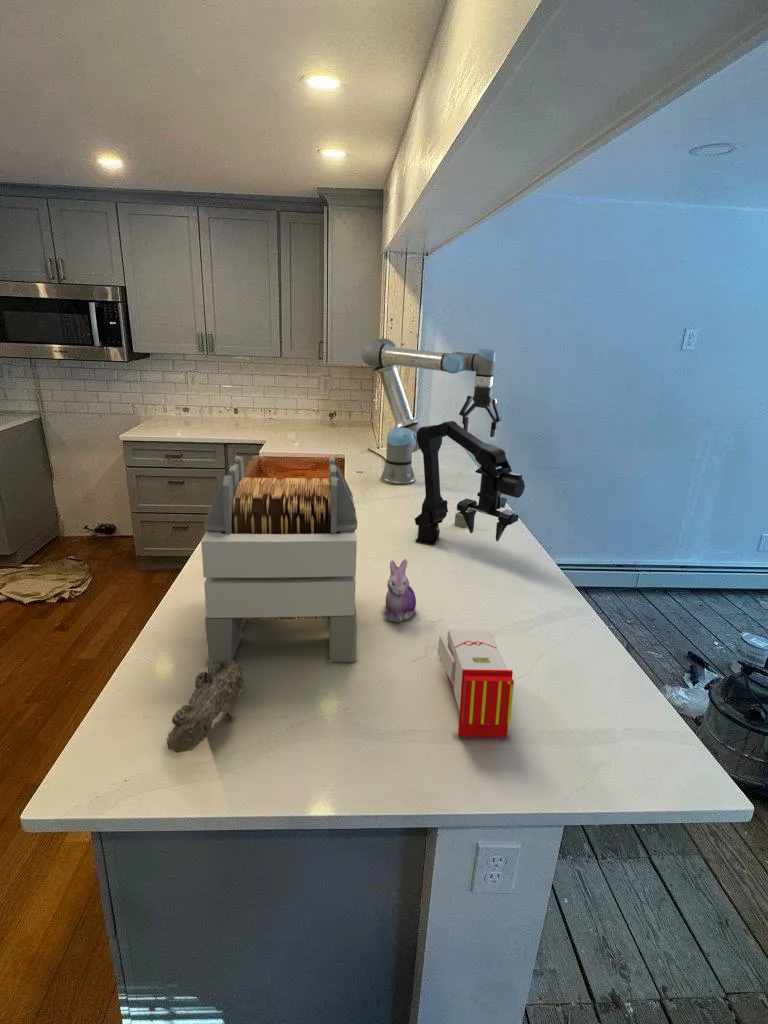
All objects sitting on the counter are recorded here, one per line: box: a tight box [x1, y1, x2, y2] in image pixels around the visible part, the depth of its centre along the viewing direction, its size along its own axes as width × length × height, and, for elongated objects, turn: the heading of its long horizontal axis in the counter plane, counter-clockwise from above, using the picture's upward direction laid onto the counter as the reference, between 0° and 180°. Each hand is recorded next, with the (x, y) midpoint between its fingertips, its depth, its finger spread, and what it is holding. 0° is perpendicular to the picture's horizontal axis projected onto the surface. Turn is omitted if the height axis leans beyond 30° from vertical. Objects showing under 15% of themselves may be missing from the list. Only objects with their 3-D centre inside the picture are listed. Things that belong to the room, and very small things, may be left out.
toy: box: [437, 628, 515, 738], centre depth 117 cm, size 12×13×30 cm
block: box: [454, 511, 468, 529], centre depth 210 cm, size 4×4×5 cm
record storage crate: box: [200, 455, 358, 666], centre depth 133 cm, size 34×33×41 cm
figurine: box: [384, 558, 417, 623], centre depth 145 cm, size 9×10×15 cm
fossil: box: [166, 659, 245, 754], centre depth 106 cm, size 22×10×15 cm
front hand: (484, 536), depth 178 cm, fingers open, 9 cm apart
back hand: (478, 434), depth 255 cm, fingers open, 13 cm apart
